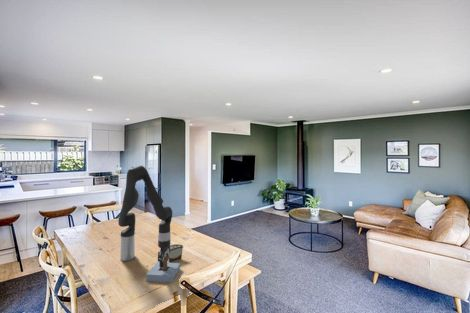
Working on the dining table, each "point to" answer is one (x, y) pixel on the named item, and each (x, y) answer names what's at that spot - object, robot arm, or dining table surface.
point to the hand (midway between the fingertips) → (164, 263)
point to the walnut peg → (164, 264)
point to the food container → (175, 253)
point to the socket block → (163, 272)
